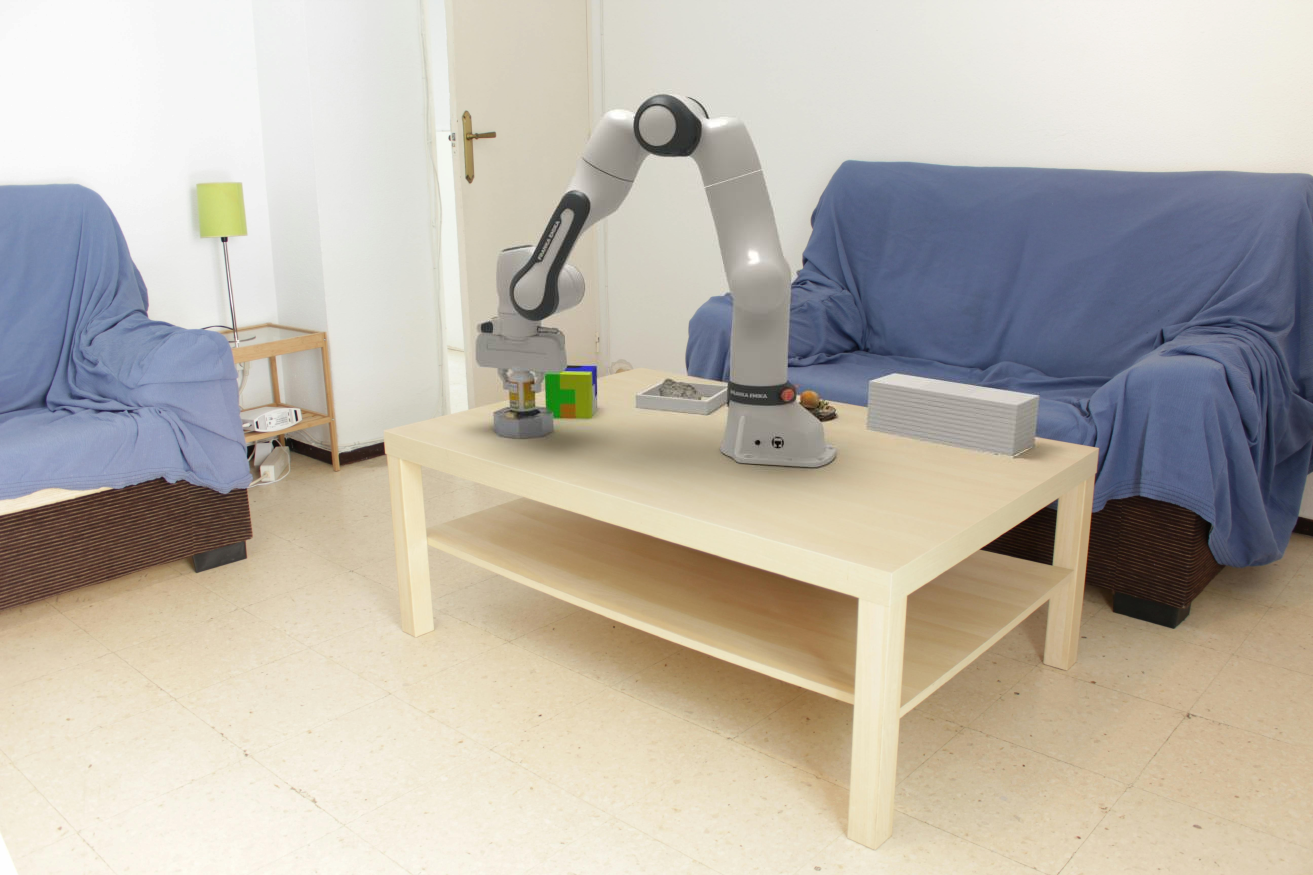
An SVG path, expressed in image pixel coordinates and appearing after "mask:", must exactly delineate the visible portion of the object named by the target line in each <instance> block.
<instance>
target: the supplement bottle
mask: <svg viewBox="0 0 1313 875" xmlns="http://www.w3.org/2000/svg"><path fill="white" fill-rule="evenodd" d="M511 371H512V373H511V374H509V375H508V377H509V390H508V393H509V395H508V397H509V407H510V409H511V410H512V411H516V412H526V411H532V410H534V409H535V406H536V393H534V392H531V389H532V388H531V384H534V383H535V382H536V380H535V374H533V373H531V371H523V370H522V369H521V366H517V365H513V368H512V370H511Z"/></svg>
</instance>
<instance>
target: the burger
mask: <svg viewBox="0 0 1313 875" xmlns="http://www.w3.org/2000/svg"><path fill="white" fill-rule="evenodd" d="M799 400H800V401H799V402H798V403H799V404H800V405H802V406H803V407H804V408H805V409H806V410H807V411H809V412H810V413H811V414H812V415H814V416H815V417H816V418H817V419H819V420H820V422H827V421H832V420H835V419H836V418H837V414H836V411H837V410H836V408H835V407H833V406H831V405H829V404H830V402H828V401H826V399H825V398H824V399H822V400H820V396H819V394H818V393H817V392H816V391H813V390H806V391H803V392H802V393H801V395H800V397H799ZM825 401H826V402H825Z"/></svg>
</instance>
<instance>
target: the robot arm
mask: <svg viewBox="0 0 1313 875" xmlns="http://www.w3.org/2000/svg"><path fill="white" fill-rule="evenodd" d="M649 155H654V156H655V157H656V156H657V157H662V158H680V157H681V158H682V157H683V158H684V157H685V158H686V157H687V158H688V157H689V158H691V159H692V160H693V161H694V162H695V164H696V165H697V167H698V170H699V173H700V176H701V180H702V184H703V187H704V192H705V195H706V198H707V203H708V205H709V209H710V213H711V216H712V219H713V222H714V225H715V226H714V227H715V230H716V235H717V240H718V244H719V245H718V247H719V250H720V254H721V258H722V264H723V268H724V272H725V276H726V281H727V285H728V288H729V294H730V295H731V298H732V300H733V302H732V304H733V305H732V306H733V307H732V317H731V318H732V320H731V323H732V324H731V333H730V348H729V349H730V352H729V353H730V355H729V356H730V358H729V370H730V371H729V379H728V380H727V385H726V386H727V402H726V405H727V406H726V407H727V408H728V409H727V417H726V418H727V419H726V424H725V428H724V429H725V430H724V434H723V439H722V441H721V445H720V449H719V450H720V452H721V453H722V454H724V455H726V456H728V457H730V458H732V459H733V460H734V461H735V462H737V463H740V464H752V465H753V464H754V465H769V466H785V467H803V468H806V467H807V468H818V467H823V466H825V465H827V464H829V463H830V462H832V461H833V460H834V459H835V457H836V454H837V449H836V447H835V446H834V445H833V444H831V443H826V437H825V430H824V426H823V424H822V421H820V420H819V419H817V418H816V417H815V416H814V415H812V414H811V413H810V412H809V411H807V410H806V409H805V408H804V407H803V406H802V405H800V404H799V402H798V401H797V398H798V396H797V394H798V392H797V391H799V389H798V388H799V384H795V385H794V384H792V383H791V382H790V381H789V380H788V364H789V361H788V360H789V359H788V358H789V357H788V356H789V336H790V319H791V318H790V316H791V315H790V314H791V297H792V269H791V266H790V264H789V262H788V260H787V259H786V257H785V256H784V252H783V248H782V245H781V241H780V235H779V231H778V228H777V222H776V218H775V212H774V209H773V205H772V202H771V199H770V195H769V191H768V187H767V183H766V179H765V175H764V172H763V170H762V168H763V167H762V164H761V161H760V159H759V156H758V153H757V150H756V147H755V145H754V142H753V140H752V138H751V135H750V132H749V130H748V129H747V127H746V125H745V124H744V122H743V121H741V120H740V119H739V118H736V117H734V116H719V117H715V118H711V119H710V117H709V114H708V112H707V109H706V108H705V107H704V105H703V104H701V103H700V102H699V101H698V100H697V99H694V98H693V97H689V96H684V95H682V94H678V93H665V94H664V93H663V94H661V93H660V94H656V95H653V96H651V97H649V98H647V99H646V100H645V101H643V103H641V104H640V106H639V107H638V108H637V110H636V112H633V111H630V110H627V109H621V108H617V109H616V108H614V109H611V110H608V111H607V112H605V113H604V115H603V116H602V118H601V119H600V120H599V121H598V123H597V125H596V127H595V128H594V129H593V132H592V133H591V135H590V137H589V139H588V141H587V143H586V145H585V147H584V149H583V152H582V154H581V155H580V159H579V161H578V164H577V166H576V167H575V170H574V172H573V174H572V177H571V180H570V181H569V184H568V186H567V188H566V190H565V192H564V193H563V194H562V197H561V198H560V201H559V203H558V204H557V206H556V208H555V210H554V211H553V214H552V215H551V217H550V219H549V222H548V223H547V224H546V227H545V228H544V230H543V233H542V235H541V237H540V239H539V241H538V244H537V245H536V246H534V245H532V244H524V245H518V246H514V247H507V248H505V249H502V250H501V252H500V253H499V254H498V257H497V261H496V272H495V273H496V280H495V281H496V284H495V285H496V293H497V295H498V296H497V297H498V307H497V316H494V317H492V318H491V319H487V320H484V321H481V322H478V323H477V324H476V331H477V333H478V335H477V336H476V339H475V361H476V363H477V366H479V367H481V368H490V369H491V368H492V369H497V375H498V377H499V378H500V380H501V382H502V388H503V390H506V391H507V390H508V391H509V375H508V373H509V370H511V371H512V368H513V365H517V366H521V369H522V370H523V371H530V372H533V373H534V378H536V380H535V383H534V384H531V388H532V389H531V392H534V393H535V394H536V393H538V394H539V393H541V392H542V383H543V382H544V381H545V376H546V373H554V374H558V373H561V372H563V371H564V370H565V369H566V368H567V365H568V359H567V351H566V346H565V345H566V336H565V334H564V332H563V331H561V330H560V329H559V328H557V327H546V326H542V321H543V320H545V319H547V318H549V317H551V316H553V315H556V314H559V313H562V312H565V311H567V310H570V309H572V308H574V307H576V306H577V305H578V304H580V303H581V301H582V299H583V297H584V295H585V291H586V290H585V289H586V286H585V285H586V284H585V279H584V277H583V275H582V273H581V272H580V271H579V269H578V268H577V267H576V266H574V265H572V264H569V263H567V262H568V260H569V258H570V257H571V254H572V252H573V250H574V249H575V247H576V245H577V243H578V242H579V239H580V238H581V236H583V234H584V233H585V232H586V231H587V230H588V229H590V228H591V227H592V226H593V225H595V224H596V223H598V222H599V221H601V220H603V219H605V218H607V217H608V216H610V215H612V214H614V213H615V212H616V211H617V210H619V208H620V207H621V205H623V202H624V201H625V200H626V198H627V197H628V195H629V193H630V192H631V189H632V188H633V185H634V183H635V180H636V178H637V176H638V173H639V170H640V169H641V166H642V165H643V163H644V161H645V160H646V159H647V158H648V157H649Z"/></svg>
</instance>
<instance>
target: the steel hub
mask: <svg viewBox="0 0 1313 875" xmlns="http://www.w3.org/2000/svg"><path fill="white" fill-rule="evenodd" d="M492 414H493V416H492V417H493V430H494V431H493V432H495V433H496V434H497V436H498V437H501V438H502V437H503V438H510V439H518V440H521V439H532V438H541V437H542V438H543V437H544V436H546V435H548V434H550V433H552V432H554V431H555V430H554V428H555V427H554V426H555V425H554V418H553V412H552V411H551V410H549V409H548V408H547V407H546V406H537V405H535V409H534V410H532V411H526V412H516V411H512V410H511V409H510V406H506V407H503V408H500V409H497V410H496V411H493V413H492Z"/></svg>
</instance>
